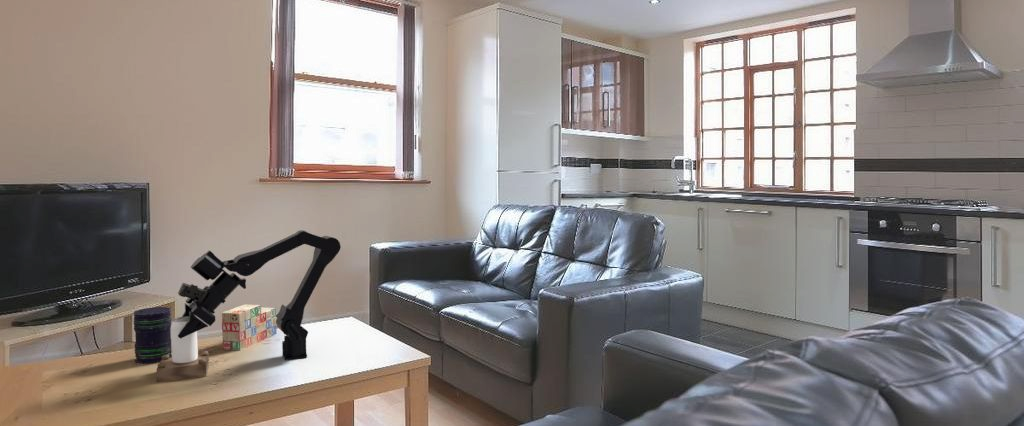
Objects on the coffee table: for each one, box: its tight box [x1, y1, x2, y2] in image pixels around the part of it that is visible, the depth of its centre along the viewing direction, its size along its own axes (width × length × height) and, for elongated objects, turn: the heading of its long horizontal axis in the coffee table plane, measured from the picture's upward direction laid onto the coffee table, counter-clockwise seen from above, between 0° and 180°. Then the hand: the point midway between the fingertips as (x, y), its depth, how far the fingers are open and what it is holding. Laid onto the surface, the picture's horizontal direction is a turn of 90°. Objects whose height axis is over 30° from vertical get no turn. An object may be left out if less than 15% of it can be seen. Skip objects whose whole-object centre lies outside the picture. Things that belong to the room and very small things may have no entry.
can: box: [170, 316, 199, 364], centre depth 176 cm, size 6×6×12 cm
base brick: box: [156, 350, 210, 382], centre depth 176 cm, size 12×10×4 cm
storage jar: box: [133, 306, 172, 365], centre depth 189 cm, size 10×10×15 cm
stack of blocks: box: [221, 303, 277, 351], centre depth 209 cm, size 21×6×12 cm, turn 170°
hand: (177, 333), depth 175 cm, fingers open, 9 cm apart
